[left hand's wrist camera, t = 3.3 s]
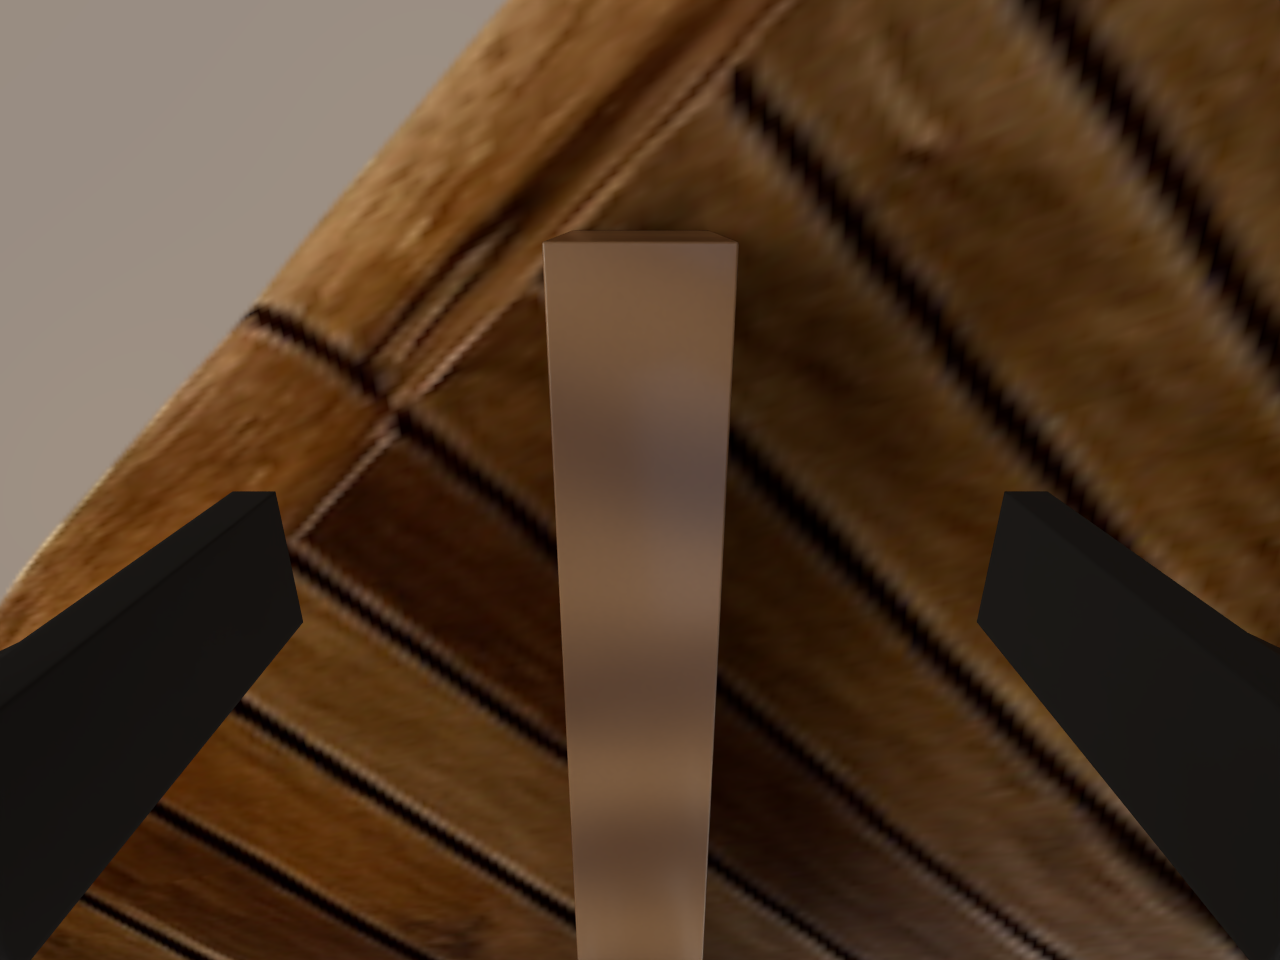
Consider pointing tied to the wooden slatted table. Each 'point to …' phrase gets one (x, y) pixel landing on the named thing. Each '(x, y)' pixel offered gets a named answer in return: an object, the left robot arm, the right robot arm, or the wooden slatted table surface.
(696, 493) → the beam
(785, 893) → the wooden slatted table surface
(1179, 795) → the left robot arm
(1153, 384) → the wooden slatted table surface
